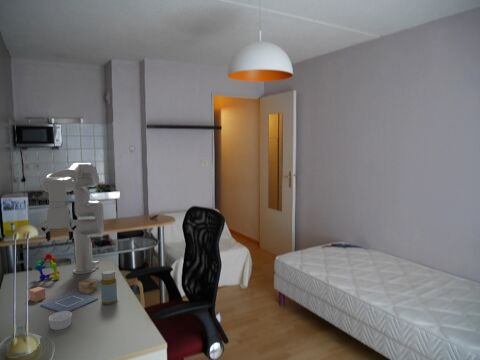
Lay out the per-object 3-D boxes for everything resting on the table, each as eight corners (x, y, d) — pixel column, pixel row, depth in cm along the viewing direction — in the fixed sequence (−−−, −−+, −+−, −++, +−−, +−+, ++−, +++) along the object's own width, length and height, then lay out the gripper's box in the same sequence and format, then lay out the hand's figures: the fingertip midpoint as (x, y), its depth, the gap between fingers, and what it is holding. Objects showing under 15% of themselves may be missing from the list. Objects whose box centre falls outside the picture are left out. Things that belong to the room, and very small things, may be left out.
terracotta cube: (39, 296, 181) (38, 286, 180) (45, 298, 178) (44, 288, 178) (29, 299, 176) (29, 290, 176) (35, 302, 174) (35, 292, 173)
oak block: (89, 287, 191) (88, 278, 191) (96, 289, 188) (96, 280, 188) (79, 291, 186) (78, 282, 186) (86, 294, 183) (86, 284, 183)
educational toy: (33, 280, 206) (31, 254, 205) (58, 275, 213) (56, 250, 213) (38, 285, 193) (36, 257, 193) (64, 280, 201) (62, 253, 201)
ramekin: (75, 325, 150) (75, 315, 150) (53, 333, 144) (52, 323, 144) (68, 318, 157) (67, 309, 156) (46, 325, 151) (45, 315, 150)
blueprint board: (74, 292, 185) (74, 290, 185) (97, 299, 176) (97, 297, 176) (40, 305, 169) (40, 304, 169) (64, 314, 161) (64, 312, 160)
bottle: (112, 305, 169) (110, 274, 168) (98, 304, 171) (97, 273, 169) (119, 299, 176) (118, 269, 175) (106, 298, 178) (105, 268, 176)
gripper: (79, 202, 175) (80, 237, 177) (40, 204, 171) (42, 239, 173) (76, 205, 168) (77, 240, 170) (35, 206, 164) (37, 243, 166)
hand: (59, 240), depth 171 cm, fingers open, 9 cm apart
